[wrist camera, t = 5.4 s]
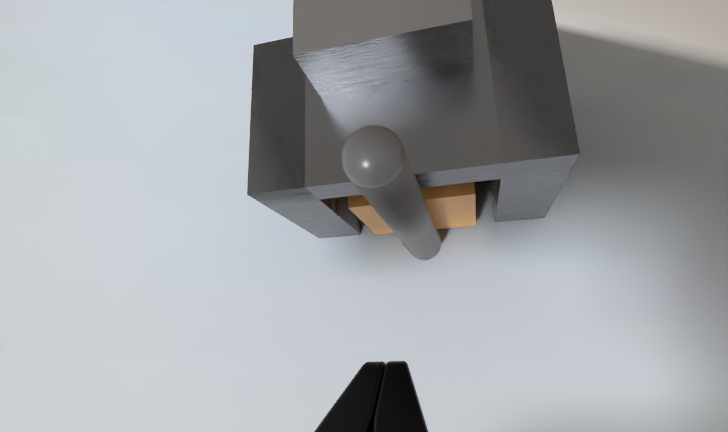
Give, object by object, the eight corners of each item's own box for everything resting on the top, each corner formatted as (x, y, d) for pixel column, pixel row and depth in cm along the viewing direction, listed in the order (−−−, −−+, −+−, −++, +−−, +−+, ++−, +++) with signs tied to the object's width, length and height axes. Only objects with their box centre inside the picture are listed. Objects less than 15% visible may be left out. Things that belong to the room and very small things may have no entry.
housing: (544, 217, 18) (601, 116, 10) (319, 238, 20) (207, 170, 12) (526, 97, 20) (561, -80, 11) (318, 129, 22) (219, 1, 14)
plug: (479, 258, 18) (480, 162, 8) (377, 265, 19) (265, 189, 9) (464, 121, 20) (450, -99, 10) (372, 134, 21) (272, -52, 11)
